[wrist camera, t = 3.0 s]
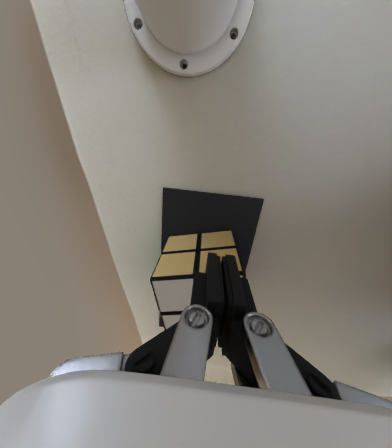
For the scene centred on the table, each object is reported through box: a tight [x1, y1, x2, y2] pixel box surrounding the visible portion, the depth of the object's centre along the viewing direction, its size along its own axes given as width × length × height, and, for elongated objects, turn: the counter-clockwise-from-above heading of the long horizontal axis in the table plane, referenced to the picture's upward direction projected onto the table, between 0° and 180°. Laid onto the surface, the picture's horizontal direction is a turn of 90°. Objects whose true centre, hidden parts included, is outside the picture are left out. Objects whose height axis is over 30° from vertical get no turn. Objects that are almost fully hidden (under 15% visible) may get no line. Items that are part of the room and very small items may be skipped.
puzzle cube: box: [150, 231, 246, 340], centre depth 25 cm, size 10×10×10 cm
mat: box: [159, 188, 264, 327], centre depth 31 cm, size 28×14×1 cm, turn 174°
